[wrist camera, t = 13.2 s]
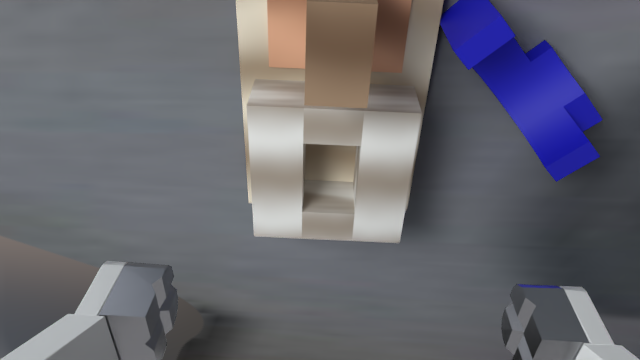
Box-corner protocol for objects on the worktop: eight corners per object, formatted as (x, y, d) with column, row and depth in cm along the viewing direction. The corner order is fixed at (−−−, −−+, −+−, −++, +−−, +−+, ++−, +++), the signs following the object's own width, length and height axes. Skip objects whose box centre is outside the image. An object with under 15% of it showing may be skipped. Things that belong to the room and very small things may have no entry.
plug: (360, 44, 33) (367, 108, 25) (312, 41, 33) (304, 105, 25) (368, -41, 30) (378, 4, 22) (314, -44, 30) (306, 0, 22)
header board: (405, 202, 42) (412, 243, 38) (250, 195, 42) (240, 235, 38) (456, -96, 29) (476, -83, 25) (232, -106, 29) (214, -94, 25)
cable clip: (584, 99, 36) (623, 143, 31) (528, 135, 38) (556, 181, 33) (496, -32, 31) (526, -4, 26) (436, 17, 33) (453, 51, 28)
